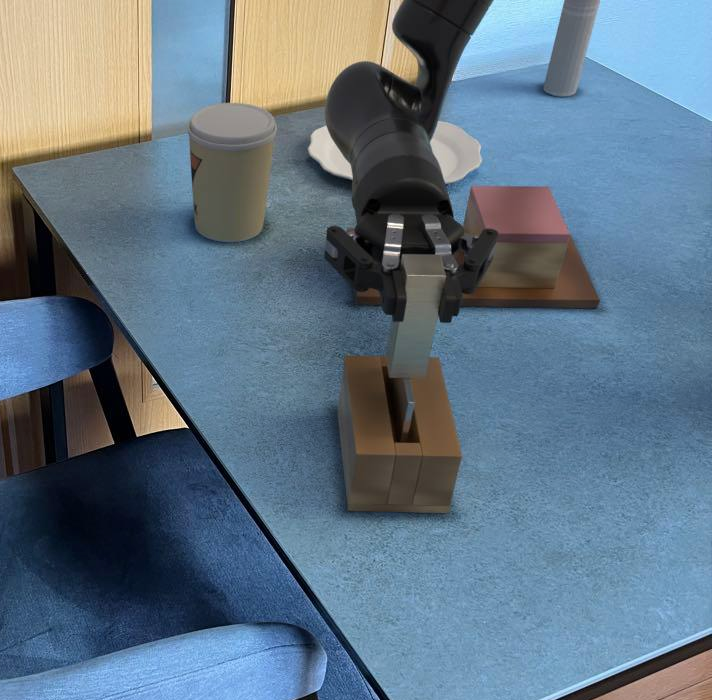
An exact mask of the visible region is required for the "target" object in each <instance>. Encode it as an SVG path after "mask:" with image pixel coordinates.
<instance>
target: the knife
mask: <svg viewBox="0 0 712 700" xmlns="http://www.w3.org/2000/svg"><path fill="white" fill-rule="evenodd" d="M399 271H401V272H402V277H403V282H404V286H405V289H406V294H407V303H406V309H405V315H404V320H403V322H393V320H392V317H391V319H390V324H389V325H390V326H389V331H388V337H387V342H386V349H385V354H384V356H386V362H387V368H388V375H389V378H388V383H387V384H388V390H389V397H390V403H391V409H392V415H393V422H394V428H395V434H396V440H397V443H407V439H408V434H409V429H410V424H411V419H412V414H413V409H414V404H415V402H414V397H413V392H412V386H411V381H410V378H416V379H425V377H426V372H427V367H428V362H429V357H431V353H432V349H433V348H432V346H433V343H434V337H435V332H436V327H437V323H438V319H439V315H438V312H439V307H440V302H441V298H442V293H443V288H444V284H445V279H446V275H445V271H444V267H443V263H442V259H441V255H429V254H402V258H401V264H400V270H399Z"/></svg>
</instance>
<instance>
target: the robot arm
mask: <svg viewBox="0 0 712 700" xmlns="http://www.w3.org/2000/svg"><path fill="white" fill-rule="evenodd" d="M494 1H495V0H402V1H401V3H400V5H399V7H398V8H397V10H396V12H395V15H394V17H393V19H392V22H391V29H392V32H393V33H392V34H393V35H394V36H395V37H396V39H397V40H398V41H399V42H400V43H401V44H402V45H403V47H405V48H406V49H407V50H408V51H409V52H410V53H411V54H412V55H413V57H415V59H416V62H417V72H416V73H417V74H416V79H415V82H414V84H412V83H410V82H409V81H407V80H406V79H404V78H403V77H401V76H399V75H397V74H395V72H393V71H391V70H389V69H387V68H386V67H384V66H382V65H380V64H378V63H376V62H374V61H370V60H369V61H368V60H364V61H358V62H354V63H352V64H350V65H348V66H346V67H345V68H344V69H343V70H342V71H341V72H340V73H339V74H338V75H337V76H336V77H335V79H334V81H333V82H332V84H331V85H330V88H329V90H328V93H327V96H326V99H325V105H324V106H325V107H324V119H325V126H327V129H328V131H329V134H330V136H331V138H332V140H333V141H334V143H335V144H336V146H337V147H338V149H339V150H340V152H341V153H342V155H343V156H344V158H345V159H346V160H347V161H348V162H349V163H350V165H351V169H352V176H353V180H351V181H352V182H351V193H352V195H351V204H352V208H353V210H354V215H355V221H356V225H355V227H354V228H355V231H352V232H347V231H345V230H344V229H343V227H340V226H338V225H331V226H328V227H327V228H326V236H325V244H324V254H323V259H324V260H325V261H326V262H327V263H328V264H329V266H330V267H332V268H333V269H334V270H335V271H336V272H337V273H338V275H340V276H341V277H342V278H343V279H344V281H346V283H348V284H349V286H350V287H351V288H352V289H353V290H354V289H355V290H356V291H359V292H366V291H368V290H369V288H373V289H376V290H377V291H378V294H379V295H380V297H381V303H382V305H381V309H382V313H384V314H385V315H386V316H391V318H392V320H393V322H403V320H404V315H405V309H406V303H407V294H406V289H405V286H404V282H403V277H402V272H401V271H399V270H400V264H401V258H402V254H429V255H441V259H442V263H443V267H444V271H445V275H446V279H445V284H444V288H443V293H442V298H441V302H440V307H439V312H438V320H439V323H441V324H451V323H452V321H453V317H458V316H459V314H460V310H461V307H462V306H461V301H462V297H463V295H462V293H464V294H472V293H474V292H475V290H476V288H477V287H478V285H479V283H480V281H481V280H482V278H483V276H484V274H485V273H486V271H487V269H488V268H489V266H490V264H491V262H492V259H493V254H494V250H495V246H496V242H497V237H498V231H496V230H494V229H484V230H483V231H482V233H481V234H480V236H479V235H477V234H476V235H472V234H468V233H464V229H463V224H461V223H459V222H458V221H457V220H456V219H455V216H454V210H453V206H452V202H451V199H450V196H449V191H448V188H447V184H445V181H444V178H443V174H442V171H441V168H440V165H439V163H438V160H437V159H436V157H435V155H434V154H433V151H432V147H431V144H430V141H431V139H432V137H433V135H434V132H435V129H436V127H437V124H438V121H440V117H441V114H442V111H443V107H444V103H445V101H446V97H447V95H448V91H449V88H450V85H451V83H452V80H453V78H454V77H453V76H454V74H455V72H456V69H457V67H458V64H459V62H460V59H461V57H462V55H463V53H464V51H465V49H466V47H467V45H468V44H469V42H470V40H471V39H472V36H474V33H475V32H476V31H477V29H478V27H479V26H480V24H481V22H482V21H483V19H484V17H485V16H486V14H487V12H488V11H489V9H490V7H491V6H492V4H493V3H494ZM459 249H462V250H464V252H465V254H464V255H465V257H466V259H465V261H464V264H460V265H458V264H457V262H456V261H455V259H454V257H453V255H454V254H455V253H456V252H457V251H458V250H459ZM373 260H374V261H375V262H377V263H378V264H377V263H373Z"/></svg>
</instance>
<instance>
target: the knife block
mask: <svg viewBox="0 0 712 700" xmlns="http://www.w3.org/2000/svg"><path fill="white" fill-rule="evenodd" d="M440 359H441V358H440V357H439V356H430V357H429V362H428V367H427V372H426V377H425V379H416V378H410V381H411V386H412V392H413V397H414V402H415V404H414V409H413V414H412V419H411V424H410V429H409V434H408V439H407V443H397V440H396V434H395V428H394V422H393V415H392V409H391V403H390V397H389V390H388V384H387V383H388V378H389V375H388V368H387V362H386V356H385V355H344V359H343V365H342V374H341V380H340V389H339V395H338V396H339V397H338V404H337V418H338V428H339V437H340V438H339V439H340V447H341V448H340V449H341V457H342V466H343V467H342V468H343V476H344V485H345V495H346V504H347V505H346V506H347V511H348V512H376V513H377V512H381V513H382V512H383V513H415V514H417V513H421V514H449V513H450V508H451V504H452V499H453V495H454V492H455V487H456V482H457V480H458V475H459V471H460V466H461V463H462V459H463V454H462V450H461V445H460V440H459V437H458V432H457V429H456V423H455V419H454V415H453V411H452V407H451V403H450V397H449V393H448V389H447V385H446V381H445V377H444V372H443V368H442V364H441V360H440Z"/></svg>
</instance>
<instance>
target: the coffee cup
mask: <svg viewBox="0 0 712 700" xmlns="http://www.w3.org/2000/svg"><path fill="white" fill-rule="evenodd" d="M277 126H278V125H277V123H276V121H275V118H274V116H273V115H272V113H270V111H268V110H266V109H265V108H262V107H260V106H257V105H253V104H249V103H241V102H222V103H214V104H211V105H207V106H204V107H201V108H199V109H198V110H196V111H195V112H194V113H193V114H192V116H191V117H190V119H189V122H188V123H187V135H188V138H189V139H188V140H189V141H188V142H189V158H190V173H191V174H190V175H191V188H192V189H191V191H192V204H193V205H192V206H193V218H194V225H195V229H196V231H197V232H198V234H200V235H201V236H202V237H204V238H206V239H208V240H211V241H215V242H221V243H240V242H244V241H248V240H251V239H253V238H255V237H256V236H258V235H259V234H260V233H261V232H262V230H263V228H264V224H265V223H264V222H265V216H266V209H267V202H268V195H269V186H270V179H271V171H272V163H273V155H274V146H275V137H276V135H277V129H278V128H277Z"/></svg>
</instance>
